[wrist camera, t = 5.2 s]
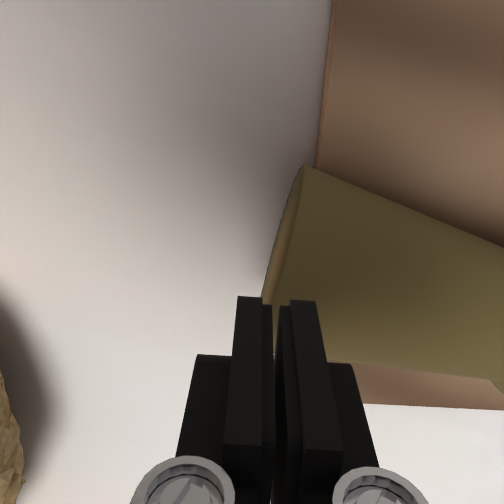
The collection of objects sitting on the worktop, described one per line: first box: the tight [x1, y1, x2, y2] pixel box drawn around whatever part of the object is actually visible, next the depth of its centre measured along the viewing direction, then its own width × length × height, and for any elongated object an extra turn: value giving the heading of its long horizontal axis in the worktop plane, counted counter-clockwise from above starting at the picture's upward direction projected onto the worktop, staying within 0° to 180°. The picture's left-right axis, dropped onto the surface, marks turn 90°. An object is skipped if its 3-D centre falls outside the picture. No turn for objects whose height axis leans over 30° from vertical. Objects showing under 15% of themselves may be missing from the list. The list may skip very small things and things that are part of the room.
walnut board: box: [315, 0, 504, 410], centre depth 17 cm, size 16×13×1 cm
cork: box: [261, 164, 504, 394], centre depth 15 cm, size 6×6×11 cm
